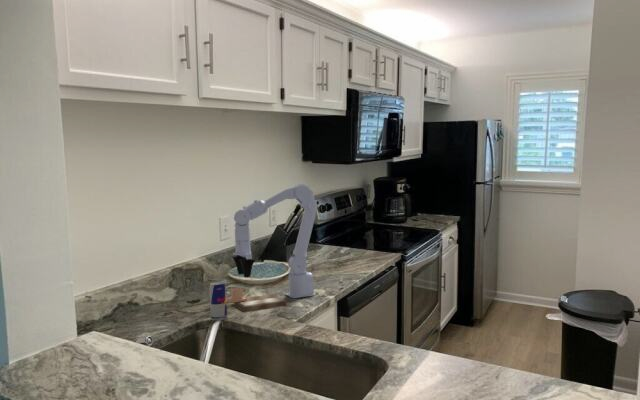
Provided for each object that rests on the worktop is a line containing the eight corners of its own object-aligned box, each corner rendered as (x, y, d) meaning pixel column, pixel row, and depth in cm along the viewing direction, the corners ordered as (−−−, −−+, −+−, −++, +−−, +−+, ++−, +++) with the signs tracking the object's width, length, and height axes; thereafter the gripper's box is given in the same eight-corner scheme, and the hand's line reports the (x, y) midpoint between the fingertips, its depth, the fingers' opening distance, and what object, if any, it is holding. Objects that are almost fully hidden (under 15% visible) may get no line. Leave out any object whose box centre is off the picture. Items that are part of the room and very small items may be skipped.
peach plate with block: (242, 298, 185) (242, 286, 185) (246, 300, 181) (246, 289, 181) (227, 300, 183) (226, 288, 183) (231, 303, 178) (230, 291, 178)
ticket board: (273, 297, 192) (272, 293, 192) (286, 305, 179) (286, 300, 179) (233, 303, 185) (232, 298, 185) (244, 311, 172) (243, 306, 172)
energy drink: (223, 321, 161) (221, 284, 161) (208, 320, 162) (206, 284, 162) (229, 316, 166) (228, 281, 166) (214, 316, 167) (213, 281, 167)
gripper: (227, 240, 195) (228, 274, 195) (238, 243, 182) (239, 279, 182) (244, 238, 198) (245, 272, 198) (256, 241, 185) (257, 277, 185)
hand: (244, 275), depth 190 cm, fingers open, 7 cm apart
